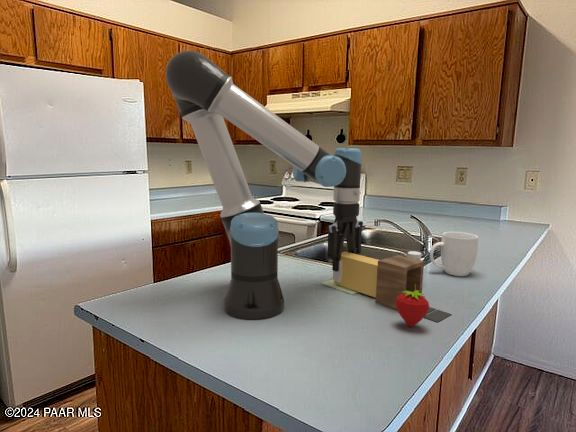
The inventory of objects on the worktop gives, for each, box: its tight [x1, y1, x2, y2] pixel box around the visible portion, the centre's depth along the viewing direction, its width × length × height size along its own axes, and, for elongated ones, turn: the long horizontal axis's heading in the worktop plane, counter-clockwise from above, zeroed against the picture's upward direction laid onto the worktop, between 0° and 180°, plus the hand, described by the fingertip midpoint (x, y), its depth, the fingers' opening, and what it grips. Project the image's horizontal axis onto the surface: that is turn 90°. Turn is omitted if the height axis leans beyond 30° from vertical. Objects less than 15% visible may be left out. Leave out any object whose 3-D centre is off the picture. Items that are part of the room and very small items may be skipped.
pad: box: [320, 278, 359, 295], centre depth 119 cm, size 9×12×1 cm
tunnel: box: [375, 254, 425, 311], centre depth 105 cm, size 9×8×12 cm
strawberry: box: [395, 284, 430, 328], centre depth 91 cm, size 6×8×10 cm
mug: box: [429, 231, 479, 277], centre depth 131 cm, size 15×11×13 cm
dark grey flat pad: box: [423, 306, 452, 323], centre depth 99 cm, size 7×8×1 cm
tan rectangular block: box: [334, 251, 380, 299], centre depth 115 cm, size 5×15×9 cm, turn 42°
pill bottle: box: [406, 250, 423, 261], centre depth 121 cm, size 6×5×10 cm
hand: (343, 279), depth 120 cm, fingers closed on tan rectangular block, 5 cm apart
